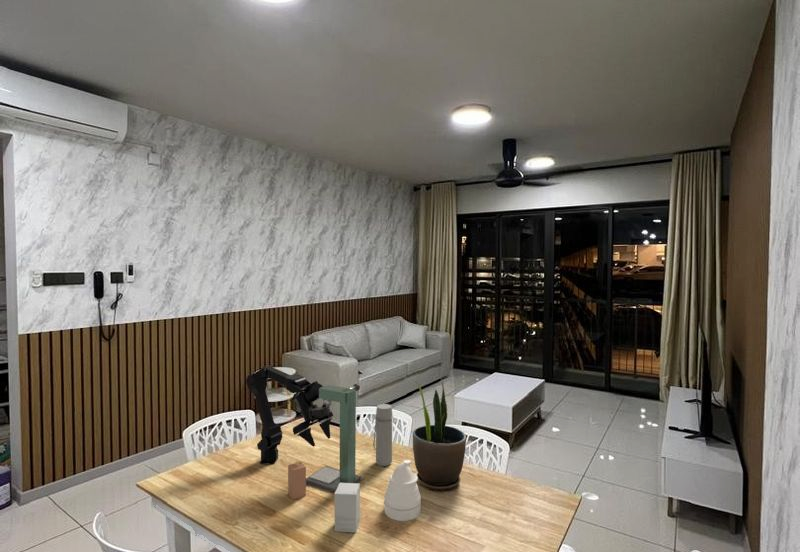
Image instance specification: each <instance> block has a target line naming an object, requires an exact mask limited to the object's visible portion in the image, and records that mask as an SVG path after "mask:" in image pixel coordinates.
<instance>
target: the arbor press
mask: <svg viewBox="0 0 800 552" xmlns="http://www.w3.org/2000/svg"><path fill="white" fill-rule="evenodd" d="M360 389H361V386H360V384H359V383H354V384H353V385H352V386H351V387H349V388H348V387H344V386H338V385H332V384H327V385H323V387H321V388H319V399H320V400H322V405H324V406H329V407H330V406H332V405H333V402H335V403H339V469H337V468H335V467H331V466H327V465H325V466H323V467H321V468H320V469H319V470H317V471H315V472H314V473H312V474H311V475H309V476H308V477H307V476H306V485H307V484H308V485H311V486H313V487H316V488H319V489H323V490H324V491H325V490H326V491H329V492H331V493H335V491H336V489H337V487H338V485H339V483H357V484H359V482H361V481H362V476H361V475H359V474H356V452H357V451H356V441H357V440H356V432H357V430H356V429H357V427H356V426H357V425H356V423H357V419H356V416H357V413H356V411H357V407H356V405H357V399H356V398H357V397H356V396H357V392H358V391H360Z"/></svg>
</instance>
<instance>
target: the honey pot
mask: <svg viewBox="0 0 800 552" xmlns="http://www.w3.org/2000/svg"><path fill="white" fill-rule="evenodd" d="M411 463H412V461H411V460H409V459H405V460H403V462H401V463H399V464H398V465H397V466H396V467H395V469H394V471H393V473H391V474H390V476H389V483H388V484H387V488H386V491H385V493H384V504H383V505H384V507H383V509H384V514H385V515H386V516H387V517H388V518H389V519H392V520H394V521H398V522H406V521H411V520H414V519H416V518H418V517H419V516H420V514H421V512H422V511H421V510H422V509H421V508H422V501H421V500H422V499H421V498H422V497H421V492H420V489H419V486H418V483H417V482H418V477H417V474H416V473H414V472H413V471H412V469H411V468H410V465H411Z"/></svg>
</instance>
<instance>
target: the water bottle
mask: <svg viewBox="0 0 800 552" xmlns="http://www.w3.org/2000/svg"><path fill="white" fill-rule="evenodd" d="M392 406H393V405H391V404H389V403H387V404H386V403H382V404H381V403H380V404H377V406H376V413H375V416H374V420H375V425H374V434H373V451H375V462H376V464H377V465H378V466H380V467H386V466H389V465H391V464H392V463H393V415H394V414H393V407H392Z"/></svg>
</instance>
